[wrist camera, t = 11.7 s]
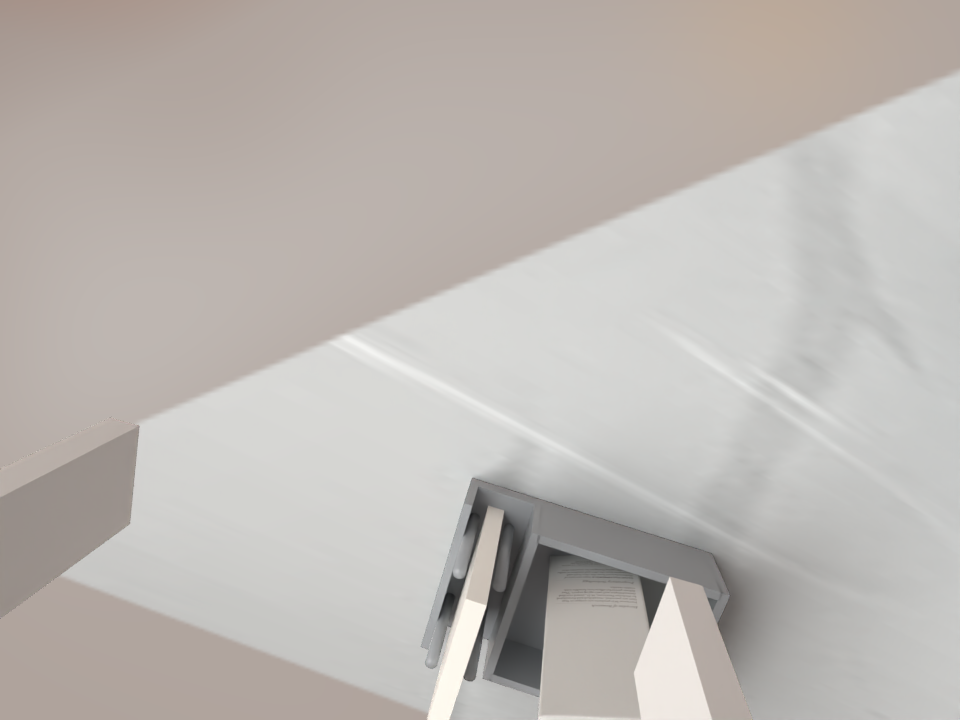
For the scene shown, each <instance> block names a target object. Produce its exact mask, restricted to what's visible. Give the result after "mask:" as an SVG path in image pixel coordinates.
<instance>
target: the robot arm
mask: <svg viewBox="0 0 960 720" xmlns="http://www.w3.org/2000/svg"><path fill="white" fill-rule="evenodd" d="M138 435H139V425H135V424H132V423H128V422H124V421H121V420H117V419H114V418H108V419H106V420H104V421H102V422H99V423H97V424H95V425H93V426H91V427H89V428H87V429H84V430H82V431H80V432H78V433H76V434H73V435H71V436H69V437H67V438H65V439H63V440H61V441H58V442H56V443H54V444H52V445H50V446H48V447H46V448H43V449H41V450H39V451H37V452H35V453H32V454H30V455H28V456H26V457H24V458H22V459H20V460H17V461H15V462H13V463H11V464H9V465H7V466H5V467H2V468H0V619H1V618H2V617H3V616H5V615H6V614H7V613H9V612H10V611H11V610H13V609H14V608H16V607H17V606H18V605H20V604H21V603H22V602H24V601H25V600H26V599H28V598H29V597H31V596H32V595H33V594H35V593H36V592H37V591H39V590H40V589H42V588H43V587H44V586H46V585H47V584H48V583H50V582H51V581H52V580H54V579H55V578H57V577H58V576H59V575H61V574H62V573H63V572H65V571H66V570H68V569H69V568H70V567H72V566H73V565H74V564H76V563H77V562H78V561H80V560H81V559H83V558H84V557H85V556H87V555H88V554H89V553H91V552H92V551H94V550H95V549H96V548H98V547H99V546H100V545H102V544H103V543H104V542H106V541H107V540H109V539H110V538H111V537H113V536H114V535H115V534H117V533H118V532H119V531H121V530H122V529H124V528H125V527H126V526H128V525H129V524H130V518H131V507H132V497H133V487H134V476H135V466H136V456H137V446H138ZM634 677H635V683H636V689H637V696H638V702H639V708H640V715H641V720H753V719H752V716H751V713H750V711H749V708H748V705H747V703H746V700H745V697H744V695H743V692H742V689H741V687H740V684H739V682H738V679H737V676H736V674H735V671H734V668H733V666H732V663H731V660H730V658H729V655H728V652H727V650H726V647H725V644H724V642H723V639H722V636H721V634H720V631H719V628H718V626H717V623H716V620H715V618H714V615H713V612H712V610H711V607H710V604H709V602H708V599H707V596H706V594H705V591H704V588H703V586H701V585H698V584H694V583H691V582H687V581H684V580H680V579H677V578H673V577H669V580H668V582H667V585H666V588H665V590H664V593H663V596H662V598H661V601H660V604H659V607H658V609H657V612H656V615H655V617H654V620H653V623H652V625H651V628H650V631H649V633H648V636H647V639H646V642H645V644H644V647H643V650H642V652H641V655H640V658H639V660H638V663H637V666H636V669H635V671H634Z"/></svg>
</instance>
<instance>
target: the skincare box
mask: <svg viewBox="0 0 960 720" xmlns="http://www.w3.org/2000/svg"><path fill="white" fill-rule="evenodd" d="M649 631H650V627H649V622H648V617H647V612H646V606H645V601H644V596H643V591H642V585H641V580H640V576H639V575H636V574H633V573H630V572H627V571H624V570H620V569H617V568H614V567H611V566H608V565H605V564H602V563H598V562H595V561H592V560H589V559H586V558H583V557H580V556H577V555H552V556H550V562H549V580H548V594H547V606H546V618H545V633H544V647H543V659H542V672H541V685H540V698H539V709H538V719H539V720H641V715H640V708H639V702H638V696H637V689H636V683H635V677H634V671H635V669H636V666H637V663H638V660H639V658H640V655H641V652H642V650H643V647H644V644H645V642H646V639H647V636H648V633H649Z"/></svg>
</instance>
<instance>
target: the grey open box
mask: <svg viewBox="0 0 960 720" xmlns="http://www.w3.org/2000/svg"><path fill="white" fill-rule="evenodd" d="M552 555H577V556H580V557H583V558H586V559H589V560H592V561H595V562H598V563H602V564H605V565H608V566H611V567H614V568H617V569H620V570H624V571H627V572H630V573H633V574H636V575H639V576H640V580H641V585H642V591H643V596H644V601H645V606H646V612H647V617H648V622H649V627H650V628H651V625H652V623H653V620H654V617H655V615H656V612H657V609H658V607H659V604H660V601H661V598H662V596H663V593H664V590H665V588H666V585H667V582H668V580H669V577H673V578H677V579H680V580H684V581H687V582H691V583H694V584H698V585H701V586H703V588H704V591H705V594H706V596H707V599H708V602H709V604H710V607H711V610H712V612H713V615H714V618H715V620H716V623H717V624H718V622H719V619H720V617H721V615H722V613H723V611H724V608H725V606H726V604H727V602H728V600H729V597H730V594H729V592H728V589H727V587H726V585H725V583H724V580H723V578H722V576H721V574H720V571H719V569H718V567H717V564H716V562H715V560H714V558H713V555H712V553H709V552H706V551H702V550H699V549H696V548H693V547H690V546H687V545H683V544H680V543H677V542H674V541H671V540H667V539H664V538H661V537H658V536H655V535H652V534H648V533H645V532H642V531H639V530H636V529H633V528H629V527H626V526H623V525H620V524H617V523H614V522H610V521H607V520H604V519H601V518H598V517H594V516H591V515H588V514H585V513H582V512H579V511H575V510H572V509H569V508H566V507H563V506H560V505H556V504H553V503H550V502H547V501H544V500H541V499H537V498H534V497H531V496H528V495H525V494H521V493H518V492H515V491H512V490H509V489H506V488H502V487H499V486H496V485H493V484H490V483H487V482H483V481H480V480H477V479H474V478H472V480H471V483H470V486H469V489H468V492H467V495H466V498H465V501H464V505H463V508H462V511H461V514H460V518H459V521H458V524H457V528H456V531H455V534H454V538H453V541H452V544H451V548H450V551H449V554H448V558H447V561H446V564H445V568H444V571H443V574H442V578H441V581H440V584H439V588H438V591H437V594H436V598H435V601H434V604H433V607H432V611H431V614H430V617H429V621H428V624H427V627H426V631H425V634H424V637H423V641H422V644H421V647H422V648H425V649H428V654H427V657H426V661H425V665H426V666H427V667H428V668H430V669H433V668H435V667H436V666H437V663H438V660H439V656H440V652H441V649H442V645H443V641H444V637H445V634H446V630H447V626H448V627H451V629H450V632H449V636H448V640H447V644H446V648H445V652H444V655H443V659H442V663H441V667H440V671H439V675H438V678H437V682H436V686H435V690H434V694H433V698H432V701H431V705H430V709H429V713H428V717H427V720H449V719H450V716H451V713H452V710H453V707H454V704H455V701H456V697H457V694H458V691H459V688H460V685H461V682H462V679H463V677H464V679H465V680H467V681H473V680H475V678H476V672H477V666H478V661H479V655H480V650H481V644H482V639H483V638H484V639H487V640H489V642H488V648H487V654H486V660H485V666H484V672H483V679H486V680H489V681H492V682H495V683H498V684H501V685H504V686H507V687H510V688H513V689H516V690H519V691H522V692H525V693H528V694H531V695H534V696H537V697H540V685H541V672H542V659H543V647H544V633H545V618H546V606H547V594H548V580H549V562H550V556H552ZM433 633H434V634H433ZM430 643H431V644H430ZM429 646H430V647H429Z"/></svg>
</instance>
